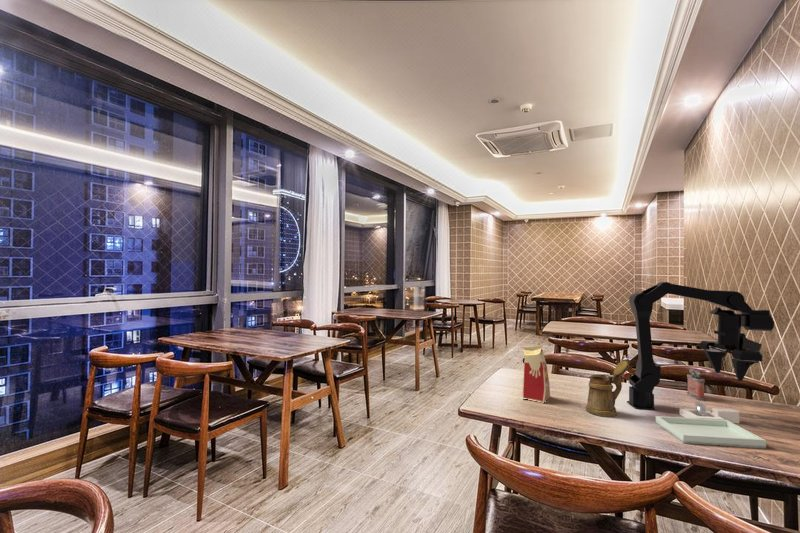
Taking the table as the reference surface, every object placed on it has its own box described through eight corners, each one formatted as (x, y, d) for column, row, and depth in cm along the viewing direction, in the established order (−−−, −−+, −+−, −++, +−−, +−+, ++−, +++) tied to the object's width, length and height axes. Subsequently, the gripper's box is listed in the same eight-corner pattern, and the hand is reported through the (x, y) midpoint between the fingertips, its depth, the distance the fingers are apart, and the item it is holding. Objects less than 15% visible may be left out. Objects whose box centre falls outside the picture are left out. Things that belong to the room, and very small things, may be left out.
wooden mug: (636, 419, 116) (636, 362, 117) (591, 416, 118) (590, 360, 119) (623, 408, 125) (623, 356, 125) (581, 406, 127) (581, 354, 127)
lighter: (707, 401, 134) (707, 373, 134) (697, 400, 134) (696, 373, 135) (694, 394, 142) (694, 368, 142) (684, 393, 142) (684, 367, 142)
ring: (695, 424, 113) (695, 412, 113) (679, 414, 120) (679, 403, 121) (746, 427, 111) (746, 415, 111) (726, 416, 119) (726, 406, 119)
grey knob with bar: (699, 421, 115) (699, 405, 115) (692, 417, 118) (692, 401, 118) (708, 421, 114) (708, 405, 115) (701, 417, 118) (700, 402, 118)
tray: (683, 443, 100) (683, 435, 100) (655, 423, 113) (655, 416, 113) (766, 448, 97) (765, 440, 97) (727, 427, 110) (727, 420, 110)
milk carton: (550, 396, 137) (550, 343, 137) (545, 404, 129) (545, 347, 130) (525, 392, 142) (525, 340, 142) (519, 399, 134) (519, 344, 134)
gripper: (782, 334, 110) (782, 386, 110) (733, 325, 128) (732, 370, 128) (742, 333, 111) (741, 384, 111) (698, 324, 130) (698, 368, 129)
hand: (728, 376), depth 120 cm, fingers open, 9 cm apart
